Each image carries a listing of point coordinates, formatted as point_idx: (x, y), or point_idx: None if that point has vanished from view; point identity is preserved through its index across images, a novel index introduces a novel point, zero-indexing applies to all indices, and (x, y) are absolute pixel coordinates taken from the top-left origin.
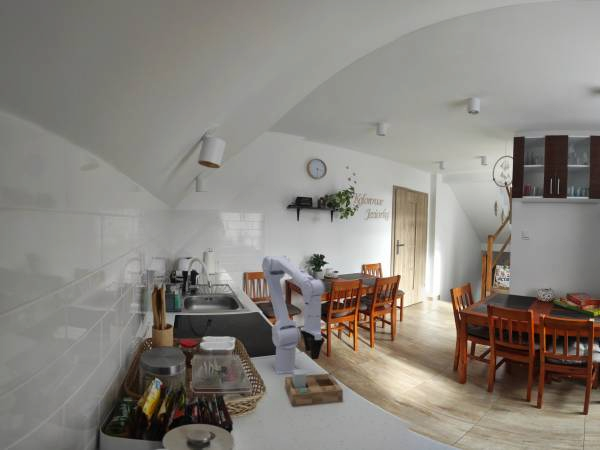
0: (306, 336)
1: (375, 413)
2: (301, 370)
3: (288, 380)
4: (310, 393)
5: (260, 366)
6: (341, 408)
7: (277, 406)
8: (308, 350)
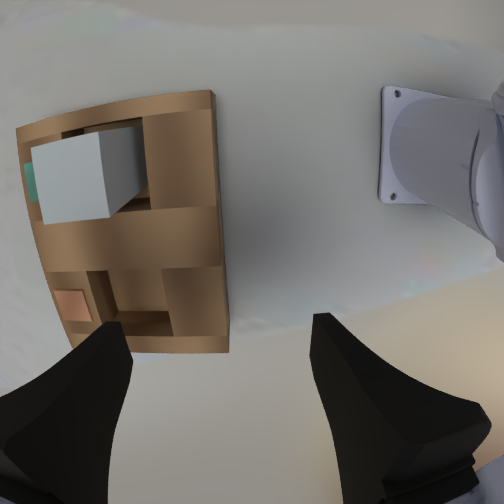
0: (362, 430)
1: None
2: (90, 200)
3: (157, 105)
4: (29, 213)
5: (468, 43)
6: (53, 303)
7: (59, 61)
8: (313, 333)
